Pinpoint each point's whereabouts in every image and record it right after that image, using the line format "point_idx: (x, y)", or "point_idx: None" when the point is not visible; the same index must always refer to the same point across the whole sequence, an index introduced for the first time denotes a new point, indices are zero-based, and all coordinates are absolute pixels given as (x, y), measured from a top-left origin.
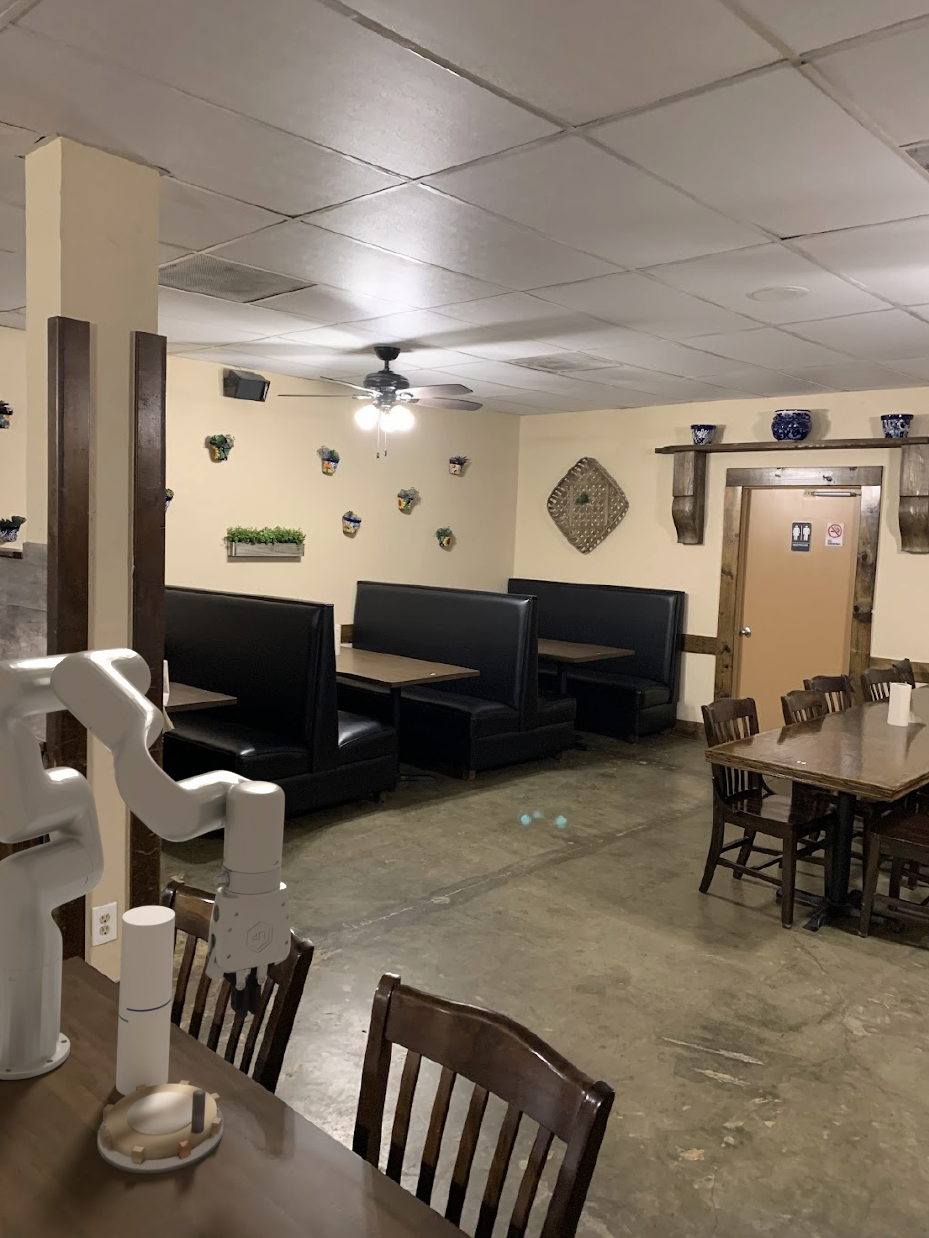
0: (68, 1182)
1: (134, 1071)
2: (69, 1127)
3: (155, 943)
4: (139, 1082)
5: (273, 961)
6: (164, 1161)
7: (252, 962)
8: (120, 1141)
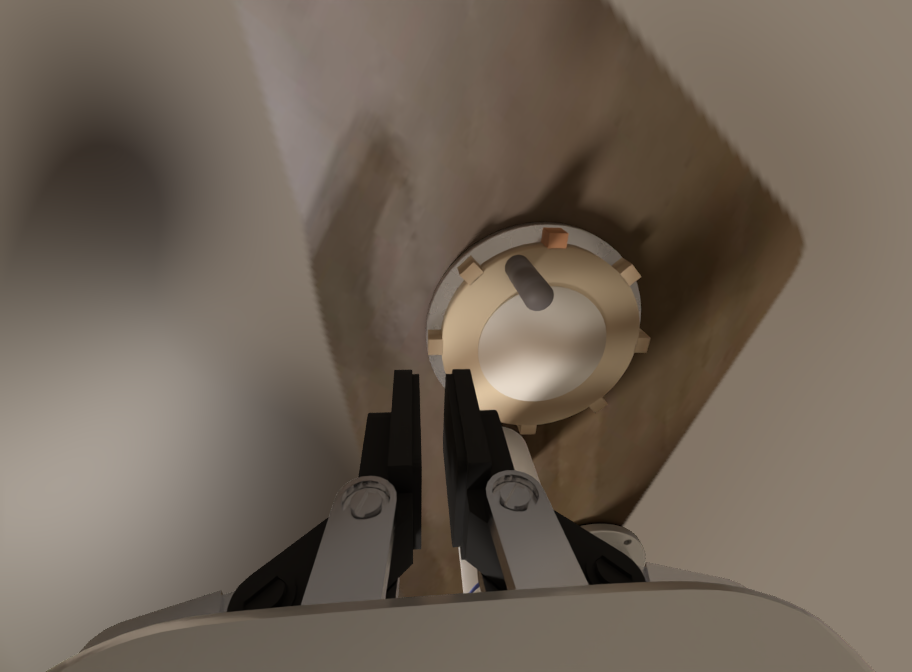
0: (700, 294)
1: (527, 463)
2: (624, 409)
3: None
4: (515, 445)
5: (266, 616)
6: (584, 242)
7: (539, 653)
8: (638, 312)
